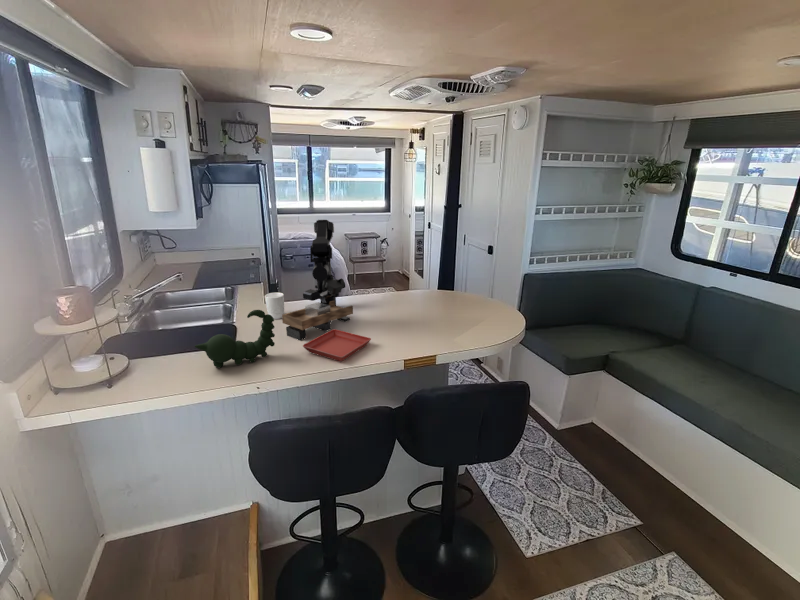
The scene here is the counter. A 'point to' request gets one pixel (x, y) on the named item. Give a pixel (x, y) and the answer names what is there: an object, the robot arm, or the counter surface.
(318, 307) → the steel block
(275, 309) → the white cup
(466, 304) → the counter surface
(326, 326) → the stand
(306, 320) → the wooden tray
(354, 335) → the plant saucer
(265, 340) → the toy figurine
